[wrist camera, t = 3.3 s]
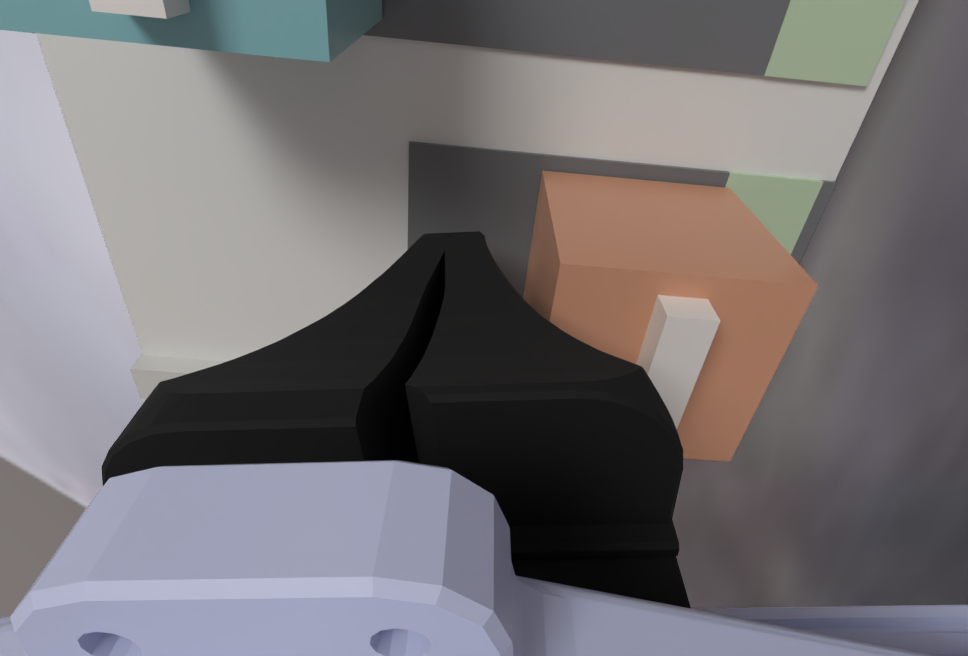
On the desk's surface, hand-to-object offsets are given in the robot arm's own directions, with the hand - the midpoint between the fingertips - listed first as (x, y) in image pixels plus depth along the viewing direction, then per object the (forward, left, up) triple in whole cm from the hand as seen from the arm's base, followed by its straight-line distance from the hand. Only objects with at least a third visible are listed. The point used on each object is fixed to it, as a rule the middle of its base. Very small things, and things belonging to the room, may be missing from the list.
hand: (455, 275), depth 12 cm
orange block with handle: (-4, 0, -1) cm, 4 cm away
